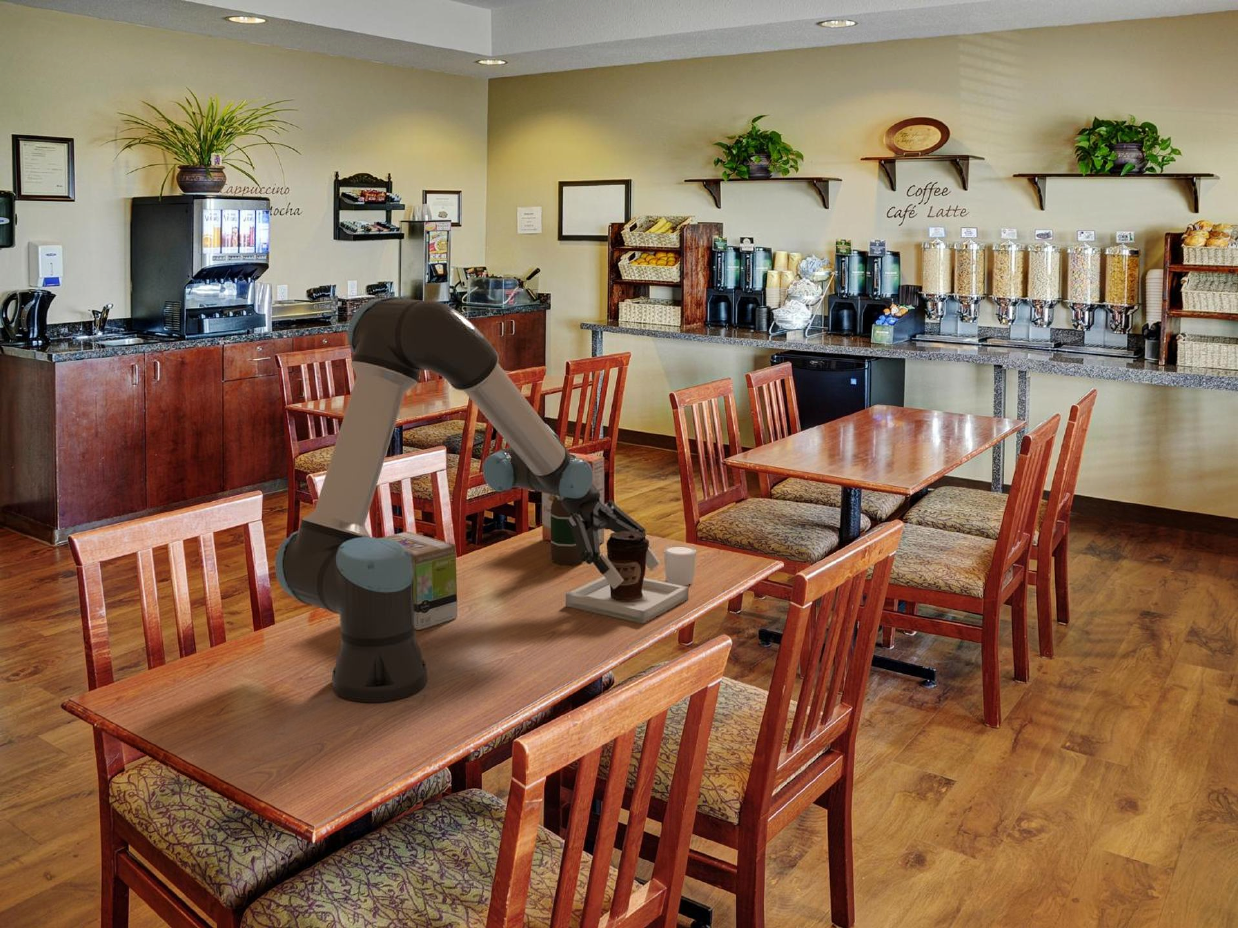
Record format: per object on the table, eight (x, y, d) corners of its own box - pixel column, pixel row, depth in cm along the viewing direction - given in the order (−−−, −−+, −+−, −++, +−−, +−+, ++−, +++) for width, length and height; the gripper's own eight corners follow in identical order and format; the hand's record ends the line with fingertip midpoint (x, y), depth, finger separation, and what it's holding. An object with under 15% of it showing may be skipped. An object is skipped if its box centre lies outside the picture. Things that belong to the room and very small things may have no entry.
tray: (643, 623, 210) (643, 611, 210) (565, 605, 220) (565, 593, 219) (688, 598, 224) (688, 587, 224) (613, 583, 234) (613, 571, 233)
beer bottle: (572, 568, 244) (572, 460, 239) (543, 562, 248) (542, 456, 243) (592, 559, 250) (592, 454, 245) (564, 553, 254) (563, 450, 249)
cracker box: (541, 540, 265) (540, 454, 260) (554, 534, 270) (554, 449, 265) (592, 549, 258) (591, 460, 254) (605, 542, 263) (605, 455, 259)
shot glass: (679, 574, 240) (679, 543, 238) (702, 582, 235) (703, 550, 233) (656, 581, 235) (656, 549, 234) (679, 589, 230) (680, 556, 229)
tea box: (459, 618, 213) (457, 543, 210) (417, 632, 206) (414, 555, 203) (411, 600, 223) (408, 528, 220) (369, 613, 216) (365, 539, 213)
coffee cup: (643, 606, 217) (644, 541, 214) (601, 603, 218) (602, 539, 216) (651, 592, 225) (652, 529, 222) (611, 589, 227) (611, 527, 224)
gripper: (599, 489, 237) (658, 569, 232) (526, 515, 216) (590, 603, 211) (620, 468, 233) (681, 549, 228) (548, 492, 212) (614, 581, 207)
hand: (637, 575), depth 220 cm, fingers open, 13 cm apart
